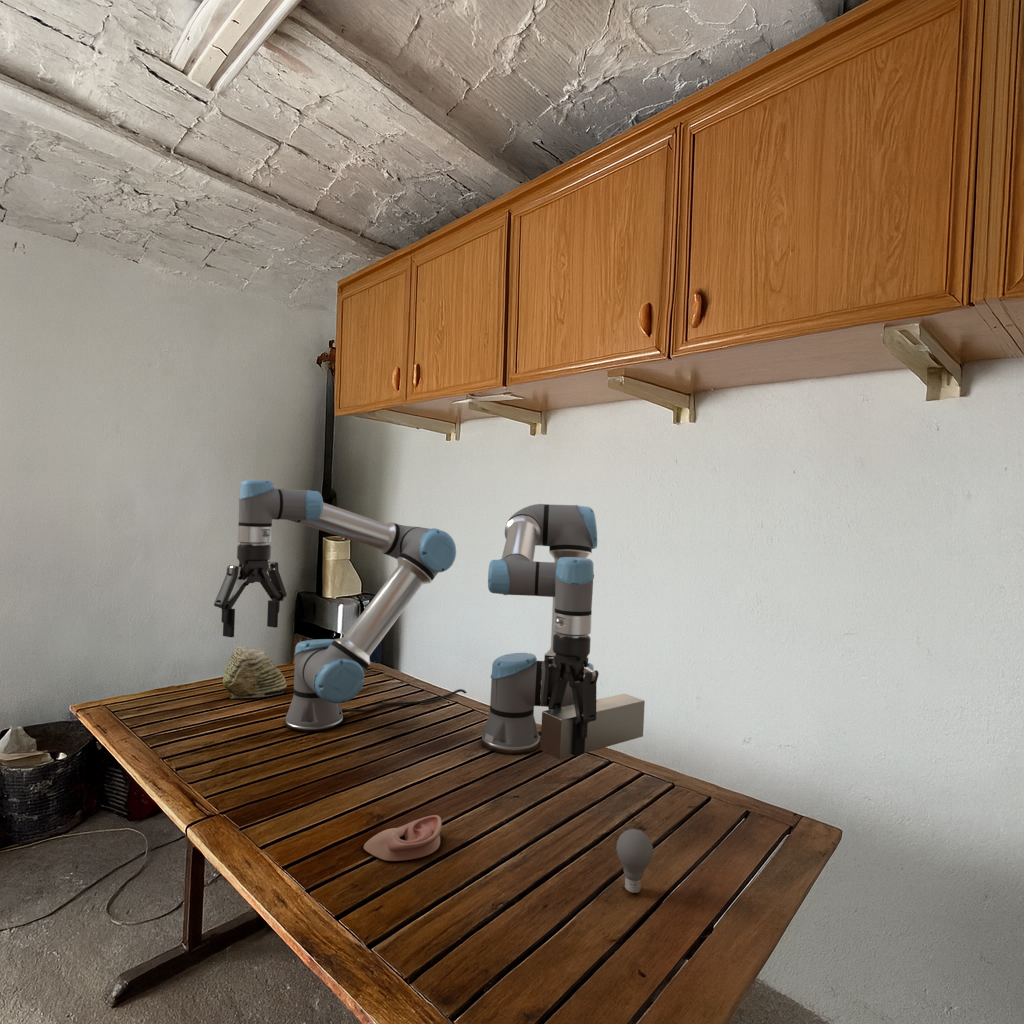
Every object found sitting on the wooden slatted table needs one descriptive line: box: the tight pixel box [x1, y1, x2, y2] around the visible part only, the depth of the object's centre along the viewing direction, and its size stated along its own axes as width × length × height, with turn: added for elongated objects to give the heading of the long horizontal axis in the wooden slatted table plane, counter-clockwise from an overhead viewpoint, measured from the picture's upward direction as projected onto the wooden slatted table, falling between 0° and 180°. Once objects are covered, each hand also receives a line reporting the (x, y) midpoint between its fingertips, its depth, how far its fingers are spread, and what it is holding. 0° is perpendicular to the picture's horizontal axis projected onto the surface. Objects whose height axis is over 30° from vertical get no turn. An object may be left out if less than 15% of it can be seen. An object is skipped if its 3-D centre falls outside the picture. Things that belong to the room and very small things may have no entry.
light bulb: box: [615, 828, 654, 894], centre depth 106 cm, size 6×6×10 cm
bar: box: [540, 693, 646, 761], centre depth 133 cm, size 24×6×8 cm, turn 128°
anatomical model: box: [363, 814, 443, 862], centre depth 116 cm, size 13×4×12 cm
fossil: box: [222, 646, 288, 699], centre depth 198 cm, size 9×18×15 cm, turn 132°
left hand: (251, 631), depth 153 cm, fingers open, 13 cm apart
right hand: (566, 747), depth 128 cm, fingers closed on bar, 6 cm apart
